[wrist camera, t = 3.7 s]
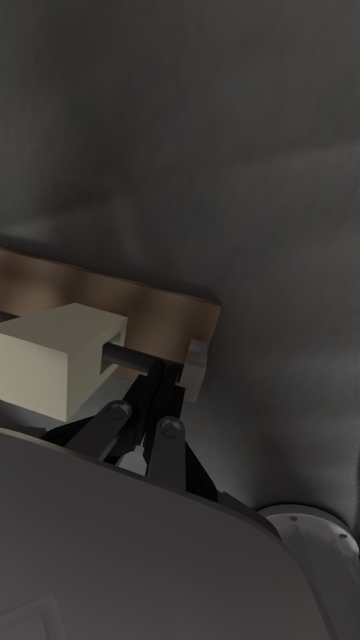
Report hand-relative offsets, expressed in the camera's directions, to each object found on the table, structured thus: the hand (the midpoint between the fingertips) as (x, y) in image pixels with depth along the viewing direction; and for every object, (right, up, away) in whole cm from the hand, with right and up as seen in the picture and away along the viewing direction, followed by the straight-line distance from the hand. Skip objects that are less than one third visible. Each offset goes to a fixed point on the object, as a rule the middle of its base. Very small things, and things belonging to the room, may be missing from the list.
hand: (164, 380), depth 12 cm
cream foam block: (-6, +3, +4) cm, 8 cm away
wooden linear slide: (-9, +5, +7) cm, 12 cm away
